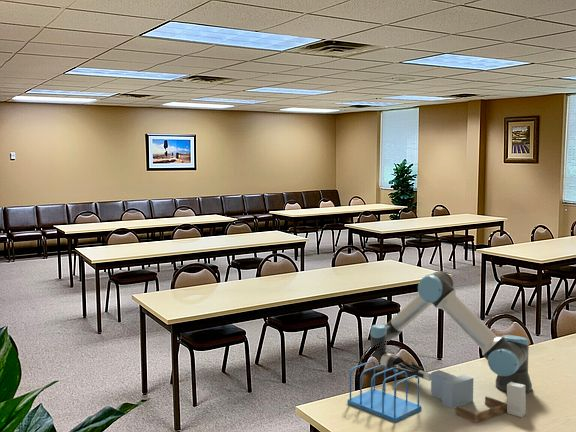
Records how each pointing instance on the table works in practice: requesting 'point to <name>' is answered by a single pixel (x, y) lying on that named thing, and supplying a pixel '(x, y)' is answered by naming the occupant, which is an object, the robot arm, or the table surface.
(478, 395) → the table surface
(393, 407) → the file sorter
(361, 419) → the table surface
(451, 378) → the grey l-shaped block
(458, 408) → the brown wooden tray
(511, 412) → the skincare box
